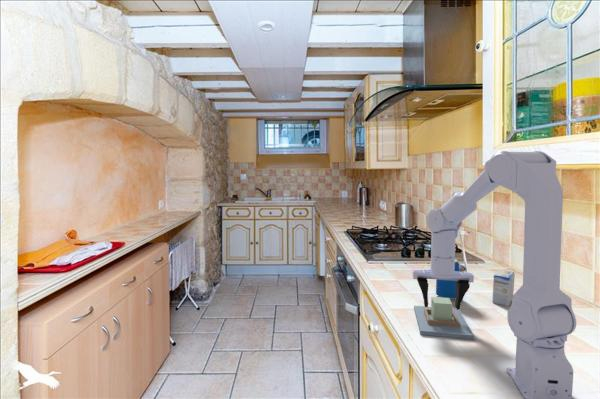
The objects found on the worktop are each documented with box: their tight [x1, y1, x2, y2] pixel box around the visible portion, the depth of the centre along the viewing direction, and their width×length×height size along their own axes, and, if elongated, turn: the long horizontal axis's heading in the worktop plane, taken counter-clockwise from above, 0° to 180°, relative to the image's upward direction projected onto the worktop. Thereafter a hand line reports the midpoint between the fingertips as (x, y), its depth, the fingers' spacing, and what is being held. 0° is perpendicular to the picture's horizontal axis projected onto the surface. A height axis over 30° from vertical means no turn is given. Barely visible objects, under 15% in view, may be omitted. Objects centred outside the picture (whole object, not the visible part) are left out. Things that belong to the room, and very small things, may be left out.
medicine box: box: [492, 269, 515, 307], centre depth 105 cm, size 8×4×9 cm, turn 141°
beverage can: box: [435, 258, 460, 301], centre depth 108 cm, size 6×6×12 cm
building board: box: [413, 305, 475, 341], centre depth 90 cm, size 16×12×2 cm
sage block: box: [430, 296, 453, 321], centre depth 90 cm, size 4×4×5 cm
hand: (441, 306), depth 90 cm, fingers open, 7 cm apart
